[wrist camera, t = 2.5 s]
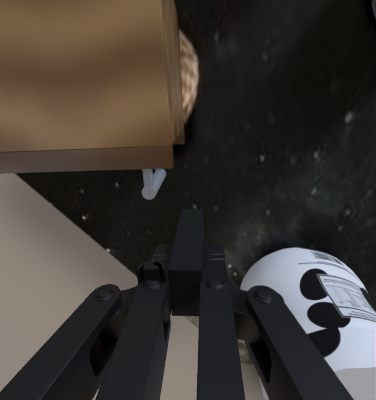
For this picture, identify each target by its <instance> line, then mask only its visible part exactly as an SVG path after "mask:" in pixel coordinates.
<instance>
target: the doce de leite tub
mask: <svg viewBox="0 0 376 400" xmlns="http://www.w3.org/2000/svg"><path fill="white" fill-rule="evenodd" d="M256 285H263V286H267V287H270V288H272V289H273V290H275V291H276V292H277V293H278V294H279V296H280V297H281V298H282V300H283V301H284V303H285V304H286V305H287V307H288V308H289V310H290V311H291V312H292V314H293V315H294V317H295V318H296V319H297V321H298V322H299V324H300V325H301V326H302V328H303V329H304V331H305V332H306V333H307V335H308V336H309V338H310V339H311V340H312V342H313V343H314V345H315V346H316V347H317V349H318V350H319V352H320V353H321V354H322V356H323V357H324V359H325V360H326V361H327V363H328V364H329V366H330V367H331V368H332V370H333V371H334V373H335V374H336V375H337V377H338V378H339V380H340V381H341V382H342V384H343V385H344V387H345V388H346V389H347V391H348V392H349V393H350V395H351V396H352V398H353V399H354V400H376V310H375V308H374V306H373V304H372V302H371V299H370V297H369V295H368V293H367V291H366V289H365V287H364V285H363V284H362V282H361V281H360V279H359V278H358V277H357V276H356V275H355V273H354V272H353V271H352V270H351V269H350V268H348V267H347V266H346V265H345V264H344V263H342V262H341V261H340V260H338V259H337V258H335V257H334V256H332V255H330V254H328V253H326V252H324V251H321V250H317V249H312V248H307V247H292V248H284V249H280V250H277V251H275V252H272V253H270V254H267V255H265V256H264V257H262V258H261V259H260V260H258V261H257V262H256V263H255V264H253V265H252V266H251V267H250V269H249V270H248V272H247V273H246V275H245V276H244V278H243V281H242V283H241V287H240V289H241V290H245V291H248V290H249V289H250V288H251V287H253V286H256ZM259 378H260V377H259ZM260 381H261V380H260ZM261 388H262V392H263V397H264V400H269V398H268V396H267V394H266V391H265V389H264V387H263V384H262V382H261Z"/></svg>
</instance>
